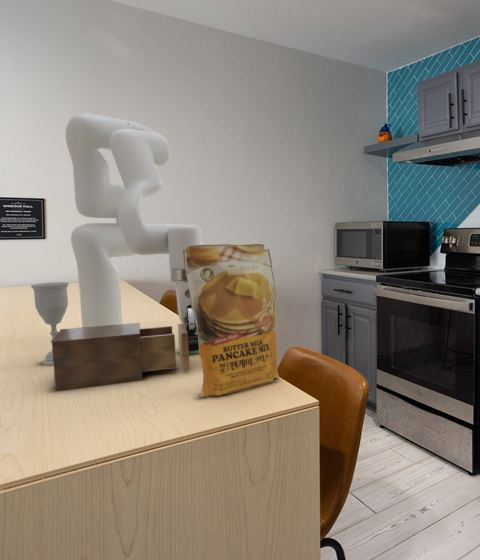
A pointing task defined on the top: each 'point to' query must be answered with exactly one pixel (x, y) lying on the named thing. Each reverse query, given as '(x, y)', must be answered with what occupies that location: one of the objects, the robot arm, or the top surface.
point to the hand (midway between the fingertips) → (190, 347)
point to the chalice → (51, 307)
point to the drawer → (164, 348)
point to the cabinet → (97, 355)
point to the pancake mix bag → (233, 315)
